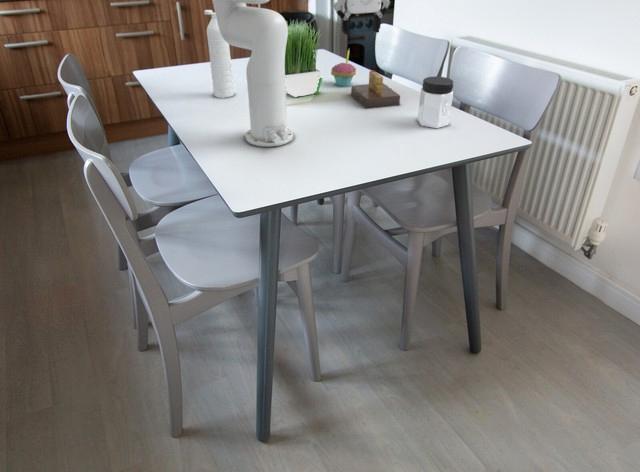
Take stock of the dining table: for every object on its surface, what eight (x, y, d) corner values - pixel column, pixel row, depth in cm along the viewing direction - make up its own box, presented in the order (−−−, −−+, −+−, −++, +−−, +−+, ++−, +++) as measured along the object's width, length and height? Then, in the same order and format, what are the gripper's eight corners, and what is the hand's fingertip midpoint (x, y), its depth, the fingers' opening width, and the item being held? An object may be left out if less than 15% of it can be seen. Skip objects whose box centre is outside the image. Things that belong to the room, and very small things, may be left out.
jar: (431, 130, 138) (437, 86, 131) (411, 121, 143) (415, 79, 137) (454, 123, 142) (461, 81, 136) (433, 115, 148) (439, 74, 141)
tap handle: (382, 93, 156) (383, 76, 153) (376, 93, 155) (377, 76, 152) (373, 86, 161) (374, 70, 159) (368, 87, 161) (369, 70, 158)
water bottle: (237, 95, 164) (230, 12, 150) (220, 99, 160) (211, 15, 146) (223, 89, 169) (215, 9, 155) (206, 93, 166) (196, 11, 152)
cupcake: (346, 79, 179) (347, 44, 172) (360, 85, 173) (362, 49, 166) (326, 83, 175) (326, 47, 169) (339, 89, 169) (340, 52, 162)
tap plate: (399, 105, 156) (400, 95, 154) (366, 108, 153) (366, 98, 151) (382, 91, 167) (383, 82, 165) (350, 94, 164) (351, 85, 163)
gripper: (338, -29, 135) (338, 37, 145) (397, -32, 140) (392, 33, 149) (329, -32, 141) (329, 32, 151) (386, -35, 146) (382, 28, 155)
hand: (361, 32), depth 150 cm, fingers open, 9 cm apart
